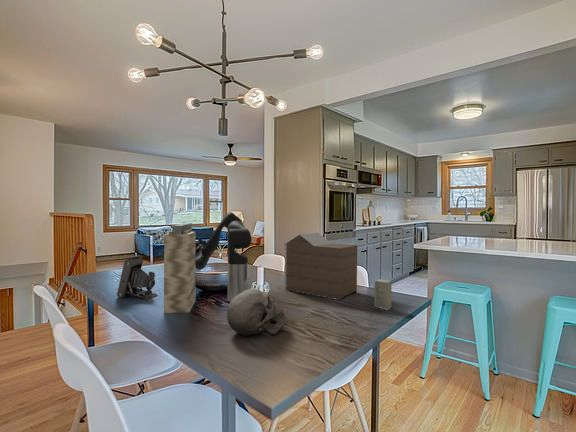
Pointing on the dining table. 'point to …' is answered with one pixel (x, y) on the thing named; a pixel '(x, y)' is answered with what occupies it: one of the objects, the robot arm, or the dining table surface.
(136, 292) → the camera
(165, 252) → the post
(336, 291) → the building model
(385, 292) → the skincare box
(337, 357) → the dining table surface
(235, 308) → the skull
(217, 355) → the dining table surface
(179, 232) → the bar
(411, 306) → the dining table surface
